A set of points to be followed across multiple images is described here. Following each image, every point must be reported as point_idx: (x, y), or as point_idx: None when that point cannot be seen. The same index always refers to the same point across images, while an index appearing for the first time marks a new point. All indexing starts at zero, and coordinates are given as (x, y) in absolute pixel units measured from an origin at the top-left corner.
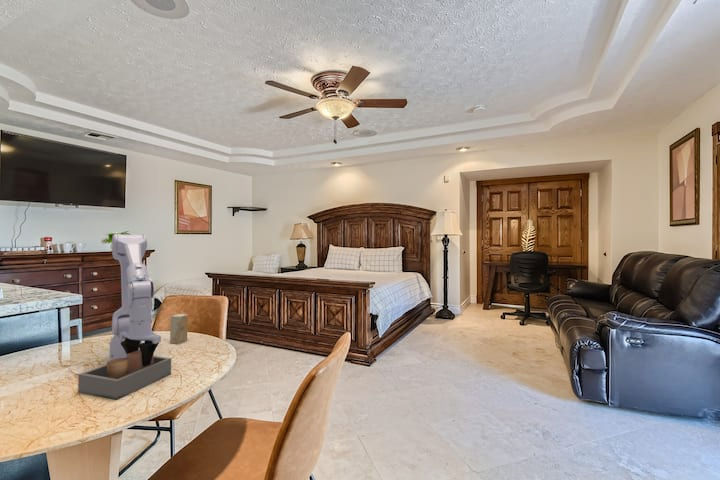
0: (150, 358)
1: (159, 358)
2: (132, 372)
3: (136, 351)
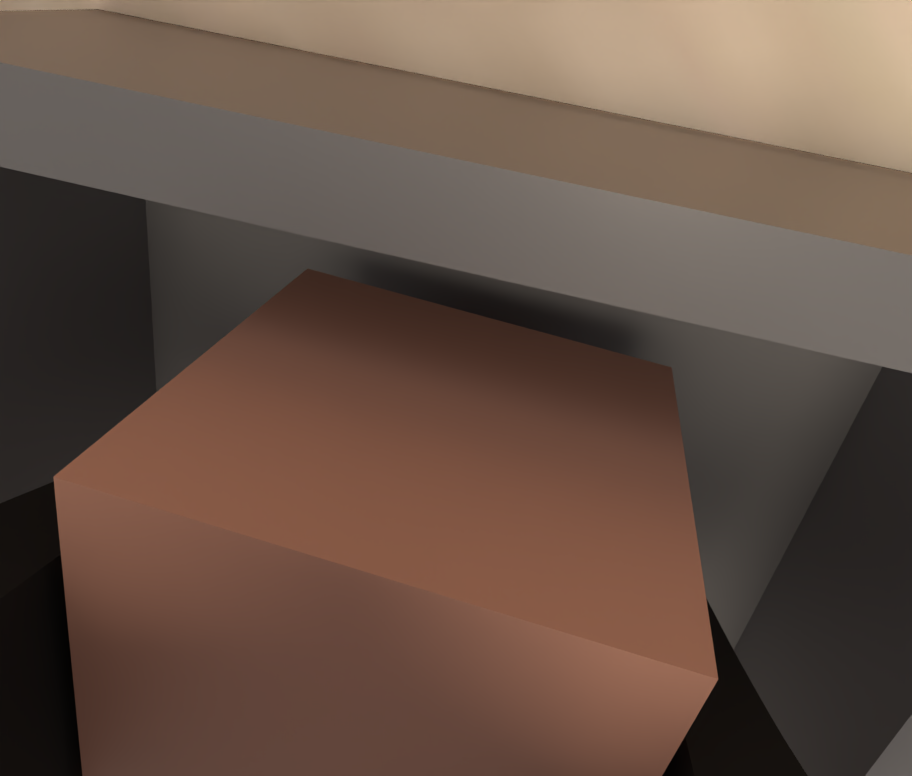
0: None
1: (824, 352)
2: (252, 296)
3: (128, 688)
